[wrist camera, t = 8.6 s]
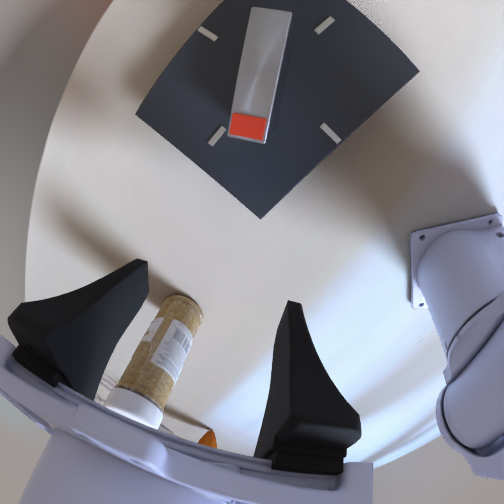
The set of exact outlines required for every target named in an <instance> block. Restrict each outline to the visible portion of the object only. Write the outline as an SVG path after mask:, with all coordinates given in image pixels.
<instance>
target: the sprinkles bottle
mask: <svg viewBox="0 0 504 504" xmlns="http://www.w3.org/2000/svg"><path fill="white" fill-rule="evenodd" d="M202 321H203V314H202V311H201V309H200V308H199V306H198V305H197V304H196V303H195V302H194V301H192V300H191V299H189V298H187V297H184V296H181V295H173V296H169V297H167V298H166V299H165V300H164V301H163V303H162V307H161V309H160V310H159V312H158V314H157V316H156V317H155V319H154V320H153V321H152V322H151V324H150V326H149V328H148V329H147V331H146V333H145V335H144V336H143V338H142V340H141V342H140V343H139V345H138V347H137V349H136V350H135V352H134V354H133V356H132V359H131V361H130V363H129V364H128V366H127V368H126V370H125V372H124V374H123V375H122V377H121V379H120V380H119V383H118V384H117V385H116V386H115V388H113V389H112V390H111V392H110V393H109V395H108V397H107V399H106V401H105V403H104V407H106V408H108V409H110V410H112V411H114V412H116V413H119V414H121V415H123V416H125V417H127V418H130V419H132V420H134V421H137V422H139V423H142V424H144V425H147V426H149V427H152V428H154V429H158V427H159V425H160V423H161V420H162V418H163V414H162V412H164V407H165V405H166V403H167V400H168V397H169V396H170V393H171V391H172V388H173V387H174V385H175V383H176V381H177V378H178V376H179V374H180V371H181V369H182V367H183V364H184V362H185V360H186V357H187V355H188V352H189V350H190V348H191V345H192V343H193V338H194V336H195V334H196V332H197V329H198V327H199V326H200V325H201V323H202Z"/></svg>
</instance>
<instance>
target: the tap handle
mask: <svg viewBox="0 0 504 504" xmlns="http://www.w3.org/2000/svg"><path fill="white" fill-rule="evenodd" d="M294 36H295V25H294V19H293V14H292V12H288V11H282V10H275V9H267V8H258V7H252V8H251V13H250V17H249V22H248V26H247V31H246V36H245V41H244V45H243V50H242V55H241V60H240V66H239V71H238V76H237V81H236V87H235V92H234V98H233V104H232V109H231V115H230V121H229V127H228V133H227V136H228V137H230V138H236V139H241V140H247V141H252V142H257V143H261V144H265V143H266V142H267V141H268V140H269V139H270V137H271V136H272V135H273V134H274V132H275V127H276V122H277V117H278V113H279V108H280V103H281V98H282V93H283V89H284V84H285V79H286V74H287V70H288V65H289V60H290V55H291V51H292V46H293V41H294Z"/></svg>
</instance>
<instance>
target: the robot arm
mask: <svg viewBox="0 0 504 504" xmlns="http://www.w3.org/2000/svg"><path fill="white" fill-rule="evenodd" d="M489 220H490V222H489ZM421 235H424V237H423V238H420V236H421ZM410 244H411V306H412V308H413V309H419V308H423V307H427V306H428V309H429V311H430V314H431V316H432V319H433V321H434V324H435V327H436V329H437V332H438V335H439V337H440V340H441V343H442V346H443V349H444V352H445V355H446V358H447V361H448V364H447V367H446V368H445V370H444V371H443V373H444V377H445V380H446V384H447V385H446V386H445V387H444V388H443V389H442V391H441V393H440V394H439V397H438V399H437V404H436V419H437V423H438V427H439V430H440V432H441V434H442V436H443V438H444V439H445V441H446V442H447V443H448V444H449V445H450V446H451V447H452V448H453V449H455V450H456V451H457V452H458V453H460V454H461V455H462V456H463V457H464V458H465V459H466V460H467V461H468V463H469V465H470V467H471V469H472V471H473V473H474V474H475V475H477V476H481V477H486V478H492V479H499V480H504V227H503V226H502V216H501V215H500V214H499V213H496V214H492V215H487V216H483V217H478V218H474V219H469V220H465V221H460V222H456V223H451V224H447V225H442V226H438V227H433V228H429V229H424V230H419V231H415V232H413V233H412V234H411V236H410ZM148 293H149V284H148V262H147V261H144V260H141V259H138V258H137V259H135V260H133V261H131V262H130V263H128V264H126V265H124V266H123V267H121V268H119V269H117V270H115V271H114V272H112V273H110V274H108V275H107V276H105V277H103V278H101V279H99V280H97V281H95V282H93V283H91V284H89V285H87V286H84V287H82V288H79V289H77V290H74V291H72V292H69V293H66V294H63V295H59V296H56V297H52V298H48V299H44V300H39V301H32V302H24V303H21V304H20V305H19V306H18V307H17V308H16V309H15V310H14V311H13V313H12V314H11V315H10V316H9V317H8V324H9V327H10V329H11V331H12V333H13V335H14V336H15V338H16V340H17V341H18V343H19V345H18V346H17V348H16V347H15V346H14V345H13V344H12V343H11V342H9V341H8V340H7V339H5V338H4V337H3V336H2V335H0V393H1V394H2V395H3V396H4V397H5V398H6V399H7V400H8V401H10V402H11V403H12V404H13V405H14V406H15V407H17V408H18V409H19V410H20V411H21V412H23V413H24V414H25V415H26V416H28V417H29V418H30V419H31V420H32V421H34V422H35V423H36V424H38V425H39V426H40V427H41V428H43V429H44V430H46V431H47V432H48V433H50V434H51V435H52V436H51V437H50V439H49V441H48V443H47V445H46V447H45V449H44V451H43V453H42V455H41V457H40V459H39V460H38V463H37V465H36V467H35V469H34V471H33V473H32V475H31V477H30V479H29V482H28V483H27V486H26V488H25V490H24V492H23V495H22V497H21V499H20V501H19V504H372V499H373V498H372V497H373V463H372V462H348V463H344V464H343V459H344V458H345V457H346V455H347V448H349V447H350V446H351V445H353V444H354V443H356V442H357V441H358V440H359V439H360V438H361V422H360V417H359V414H358V413H357V412H356V411H355V410H354V409H353V408H352V406H351V405H350V404H349V403H348V402H347V401H346V400H345V398H344V397H343V396H342V395H341V393H340V392H339V390H338V389H337V387H336V386H335V385H334V383H333V382H332V380H331V379H330V377H329V375H328V373H327V372H326V370H325V368H324V366H323V364H322V362H321V360H320V358H319V356H318V354H317V352H316V349H315V347H314V344H313V342H312V339H311V336H310V333H309V331H308V328H307V324H306V321H305V317H304V313H303V309H302V305H301V304H300V303H297V302H293V301H289V300H288V302H287V305H286V307H285V310H284V313H283V315H282V318H281V321H280V323H279V326H278V329H277V333H276V338H275V343H274V350H273V361H272V372H271V382H270V390H269V395H268V400H267V405H266V409H265V414H264V418H263V422H262V426H261V430H260V434H259V438H258V442H257V445H256V449H255V453H254V456H253V457H251V456H246V455H241V454H237V453H232V452H228V451H224V450H220V449H216V448H212V447H209V446H205V445H202V444H198V443H195V442H192V441H189V440H185V439H182V438H179V437H176V436H173V435H171V434H168V433H165V432H162V431H159V430H157V429H154V428H152V427H149V426H147V425H144V424H142V423H139V422H137V421H134V420H132V419H130V418H127V417H125V416H123V415H121V414H119V413H116V412H114V411H112V410H110V409H108V408H106V407H104V406H102V405H100V404H98V403H96V402H94V398H95V395H96V392H97V389H98V386H99V383H100V381H101V378H102V375H103V373H104V370H105V368H106V366H107V363H108V361H109V359H110V357H111V355H112V353H113V351H114V349H115V347H116V345H117V343H118V341H119V339H120V338H121V336H122V335H123V333H124V332H125V330H126V329H127V327H128V326H129V324H130V323H131V321H132V320H133V319H134V317H135V316H136V314H137V313H138V311H139V310H140V308H141V306H142V305H143V303H144V301H145V299H146V297H147V295H148ZM421 302H422V303H421ZM420 303H421V304H420Z"/></svg>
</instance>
